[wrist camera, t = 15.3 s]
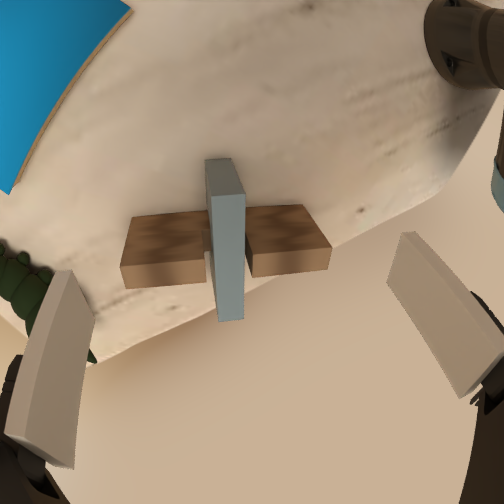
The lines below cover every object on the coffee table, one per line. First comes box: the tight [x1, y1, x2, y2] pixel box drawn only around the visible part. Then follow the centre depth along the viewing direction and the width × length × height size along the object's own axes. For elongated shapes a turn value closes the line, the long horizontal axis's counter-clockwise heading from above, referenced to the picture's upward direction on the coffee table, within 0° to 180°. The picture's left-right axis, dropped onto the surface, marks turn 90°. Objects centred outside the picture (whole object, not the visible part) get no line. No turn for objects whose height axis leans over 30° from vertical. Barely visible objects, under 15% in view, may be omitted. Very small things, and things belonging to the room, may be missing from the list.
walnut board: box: [120, 205, 332, 289], centre depth 35 cm, size 22×3×10 cm, turn 88°
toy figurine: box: [0, 243, 97, 364], centre depth 31 cm, size 9×19×25 cm
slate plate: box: [205, 158, 246, 322], centre depth 35 cm, size 16×3×10 cm, turn 179°
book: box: [0, 0, 134, 195], centre depth 21 cm, size 17×4×25 cm
